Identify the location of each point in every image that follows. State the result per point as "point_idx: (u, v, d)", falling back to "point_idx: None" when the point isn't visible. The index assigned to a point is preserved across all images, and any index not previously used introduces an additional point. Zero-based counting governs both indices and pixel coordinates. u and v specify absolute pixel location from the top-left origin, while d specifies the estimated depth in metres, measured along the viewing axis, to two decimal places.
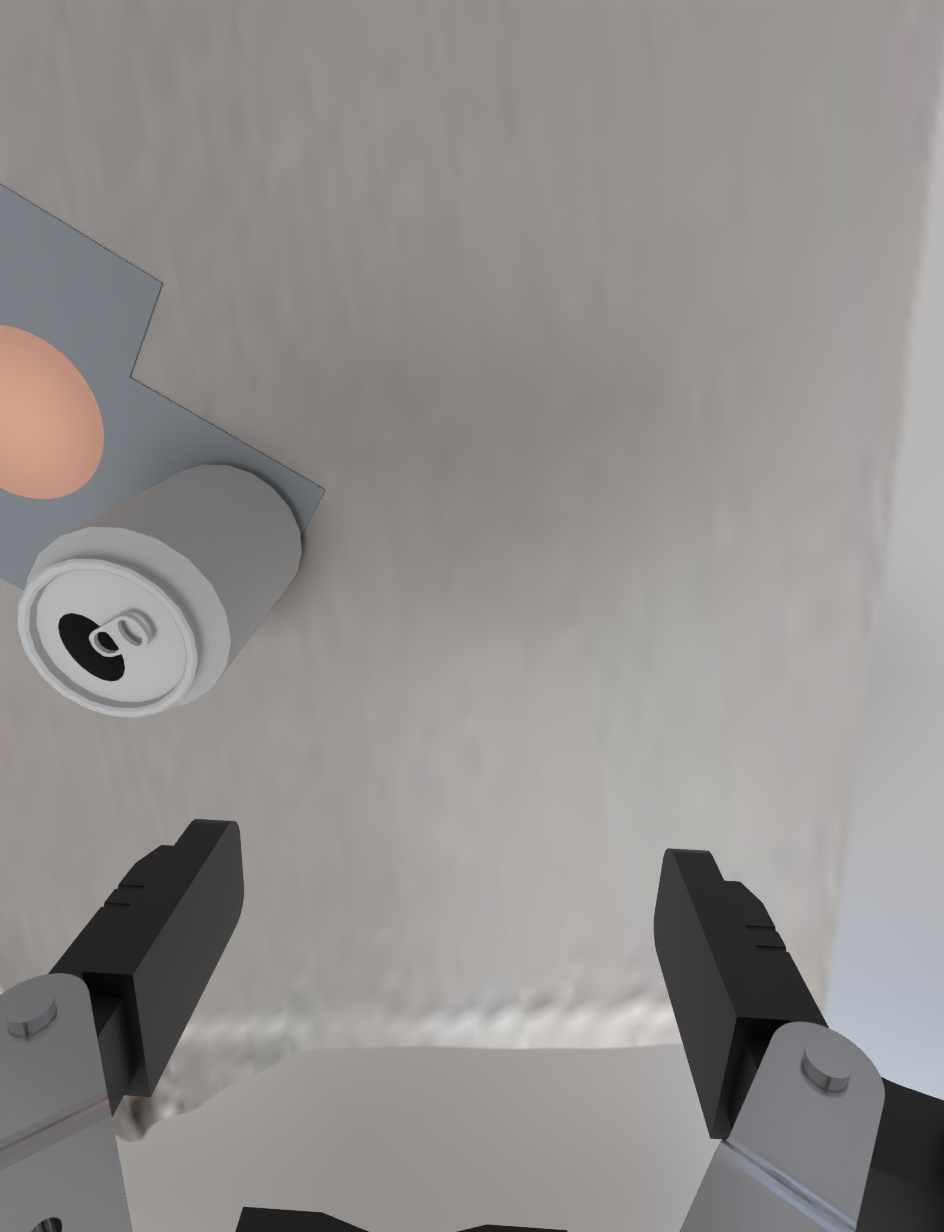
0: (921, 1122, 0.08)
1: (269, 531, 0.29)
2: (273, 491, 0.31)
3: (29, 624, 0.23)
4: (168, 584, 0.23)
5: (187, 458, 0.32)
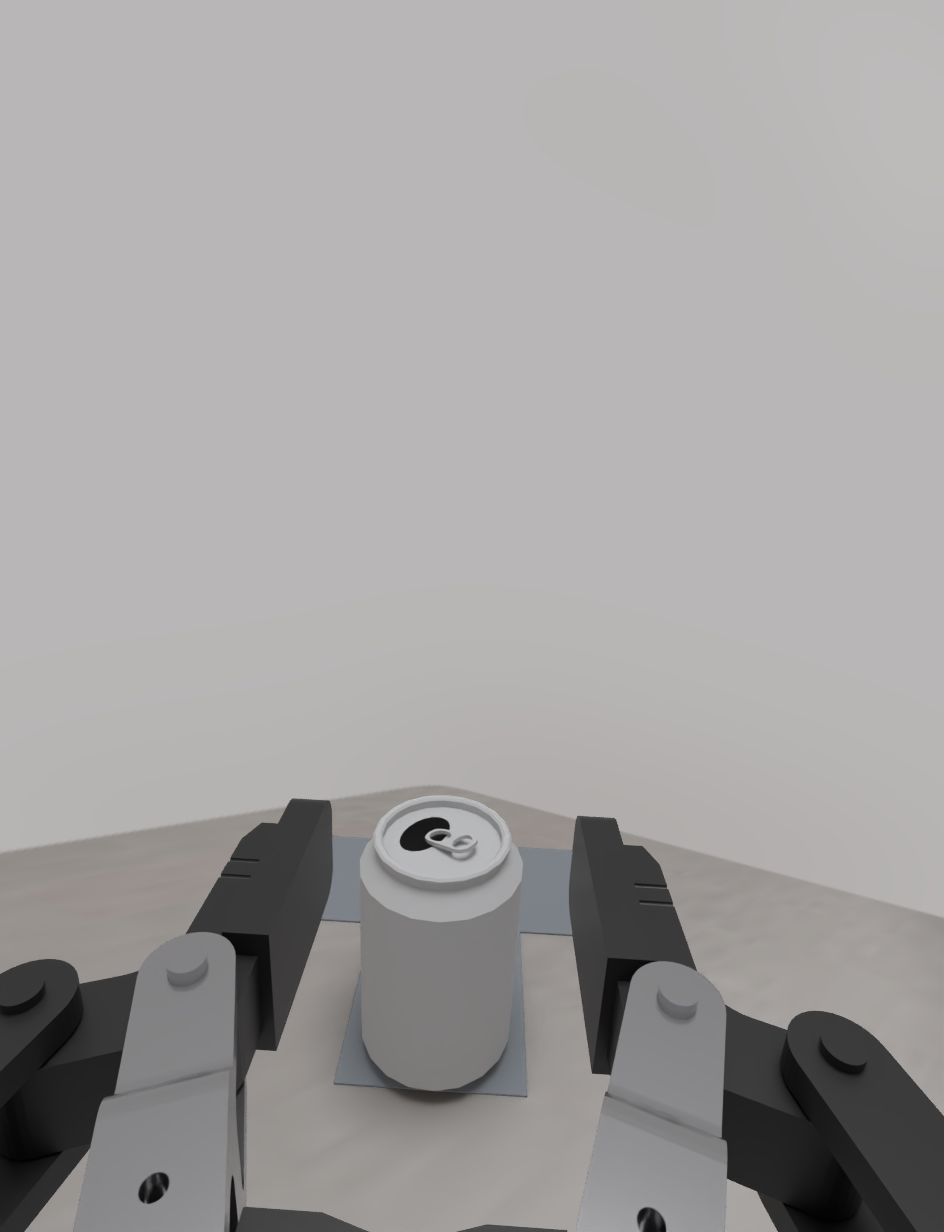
0: (762, 1048, 0.09)
1: (500, 1009, 0.30)
2: (508, 1037, 0.32)
3: (429, 802, 0.32)
4: (505, 863, 0.29)
5: None
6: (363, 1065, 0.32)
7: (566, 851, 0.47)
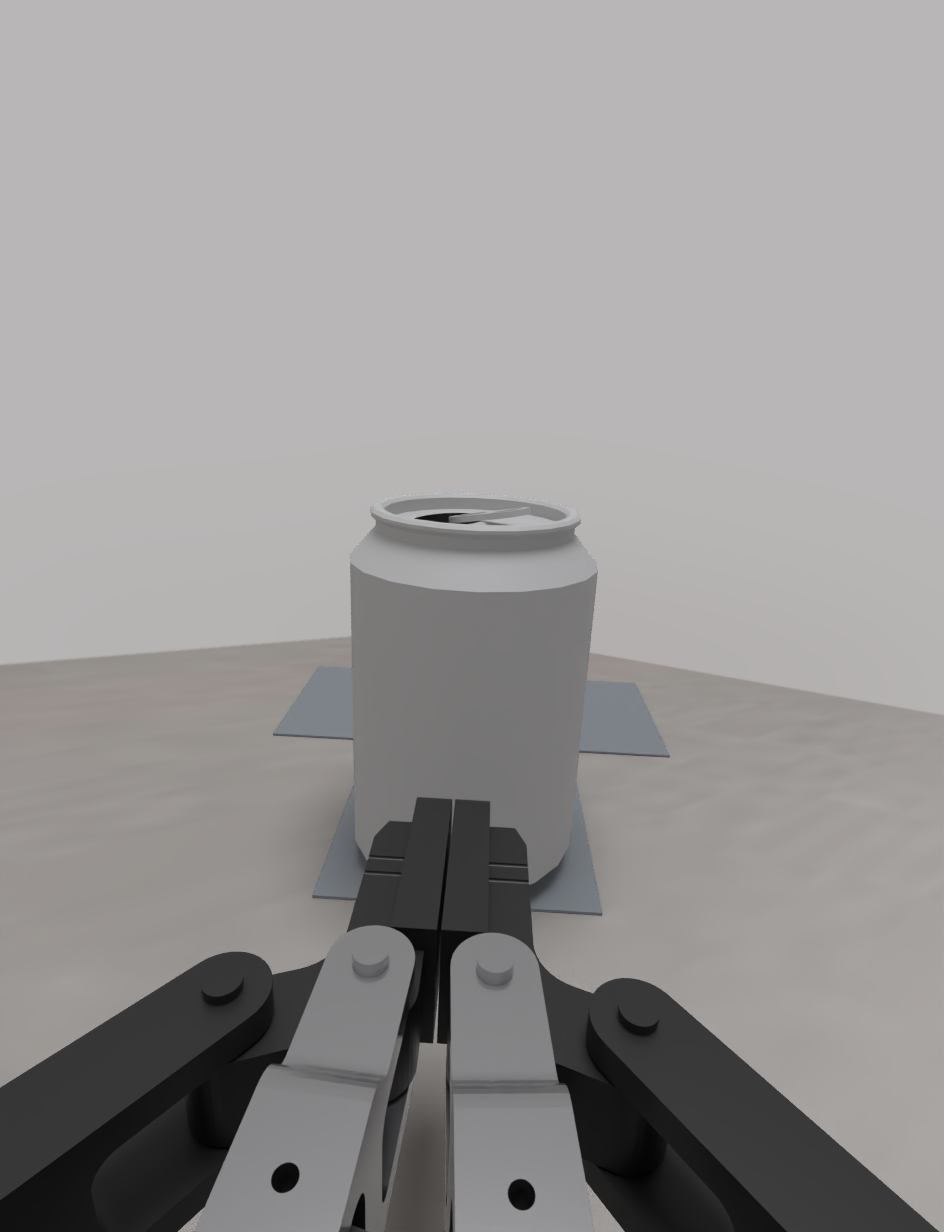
0: (575, 1014, 0.09)
1: (563, 778, 0.20)
2: (568, 840, 0.22)
3: (452, 499, 0.22)
4: (573, 541, 0.19)
5: None
6: (356, 877, 0.21)
7: (619, 683, 0.37)
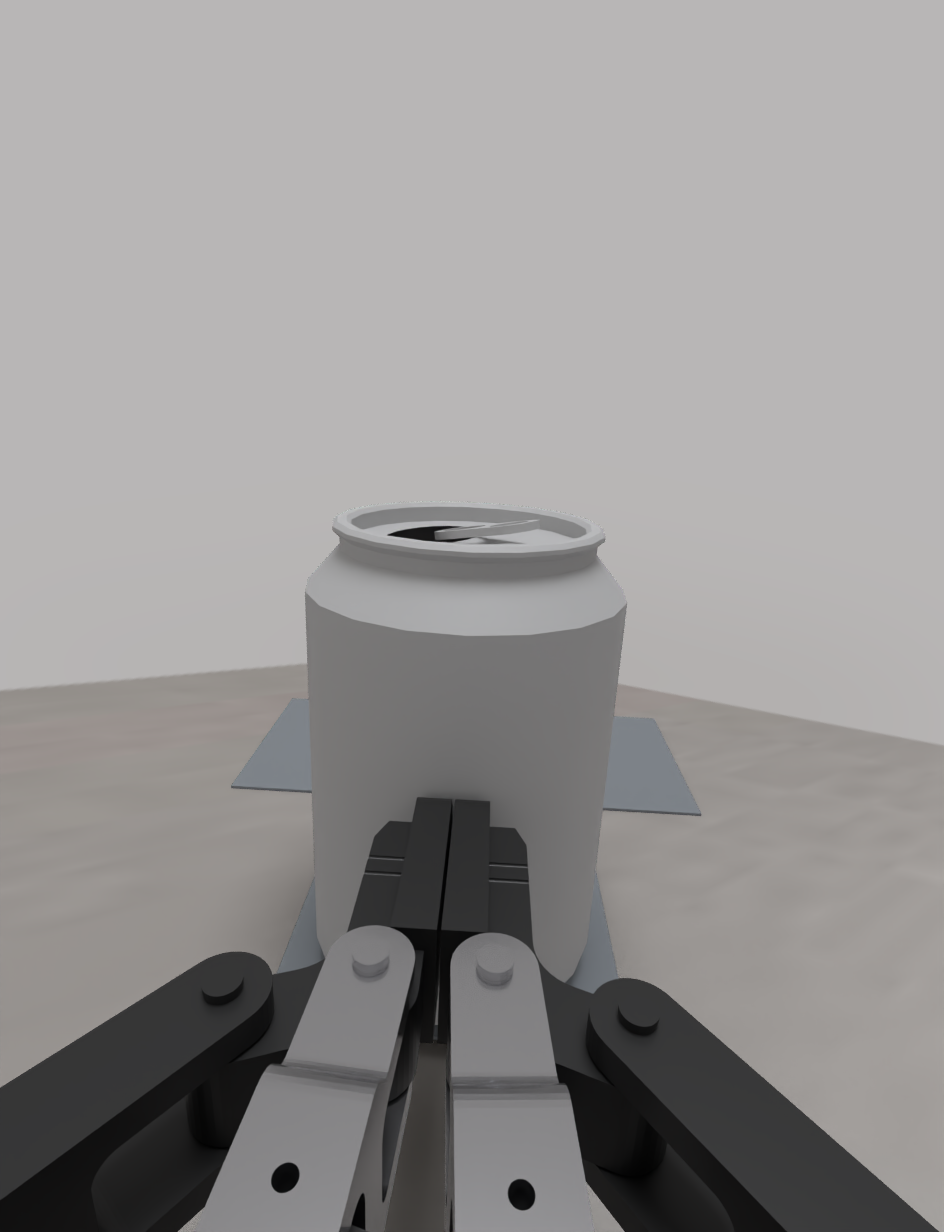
0: (575, 1013, 0.09)
1: (581, 869, 0.15)
2: (586, 938, 0.17)
3: (442, 509, 0.18)
4: (596, 565, 0.15)
5: None
6: None
7: (636, 718, 0.33)
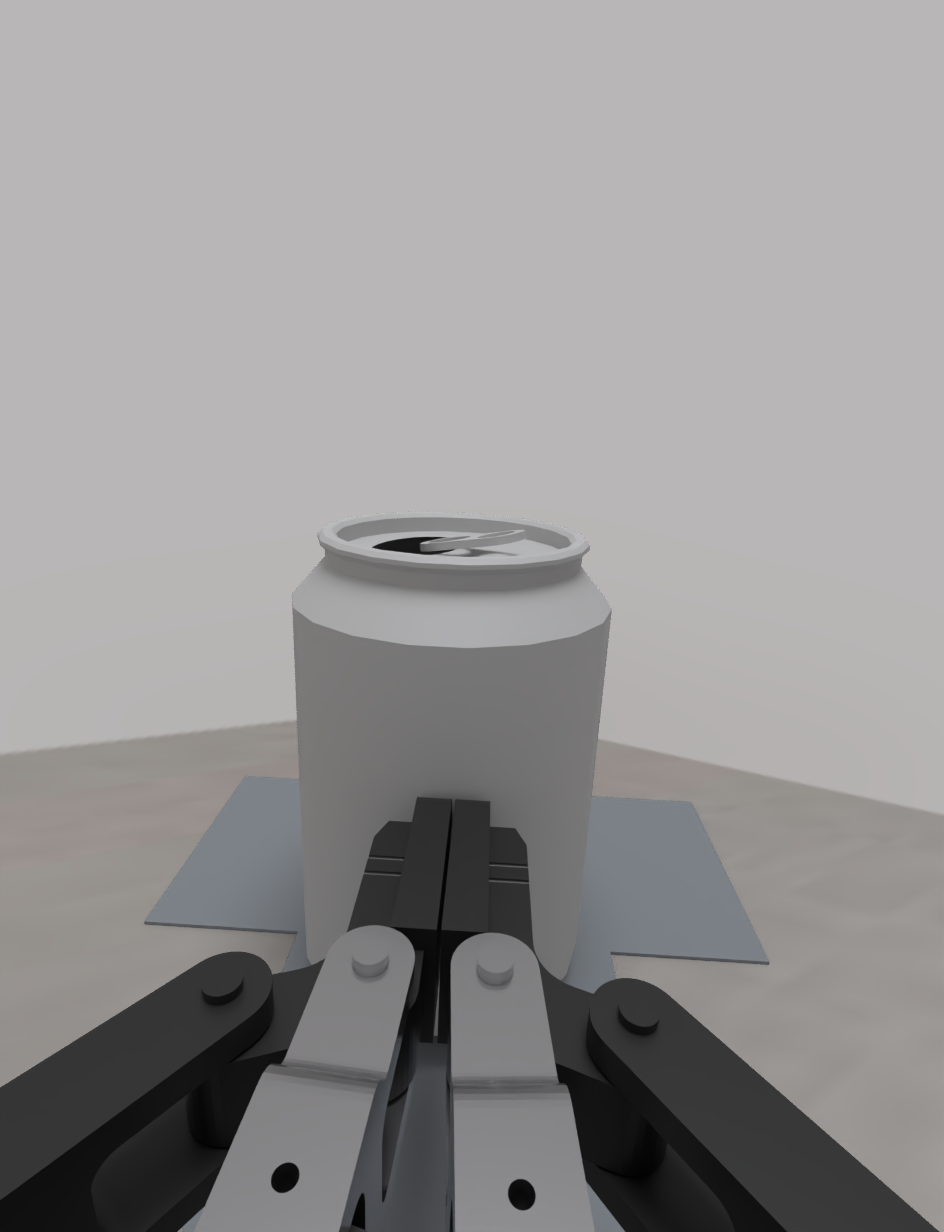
0: (575, 1013, 0.09)
1: (574, 870, 0.16)
2: (575, 937, 0.18)
3: (419, 519, 0.18)
4: (581, 573, 0.15)
5: None
6: None
7: (669, 802, 0.26)
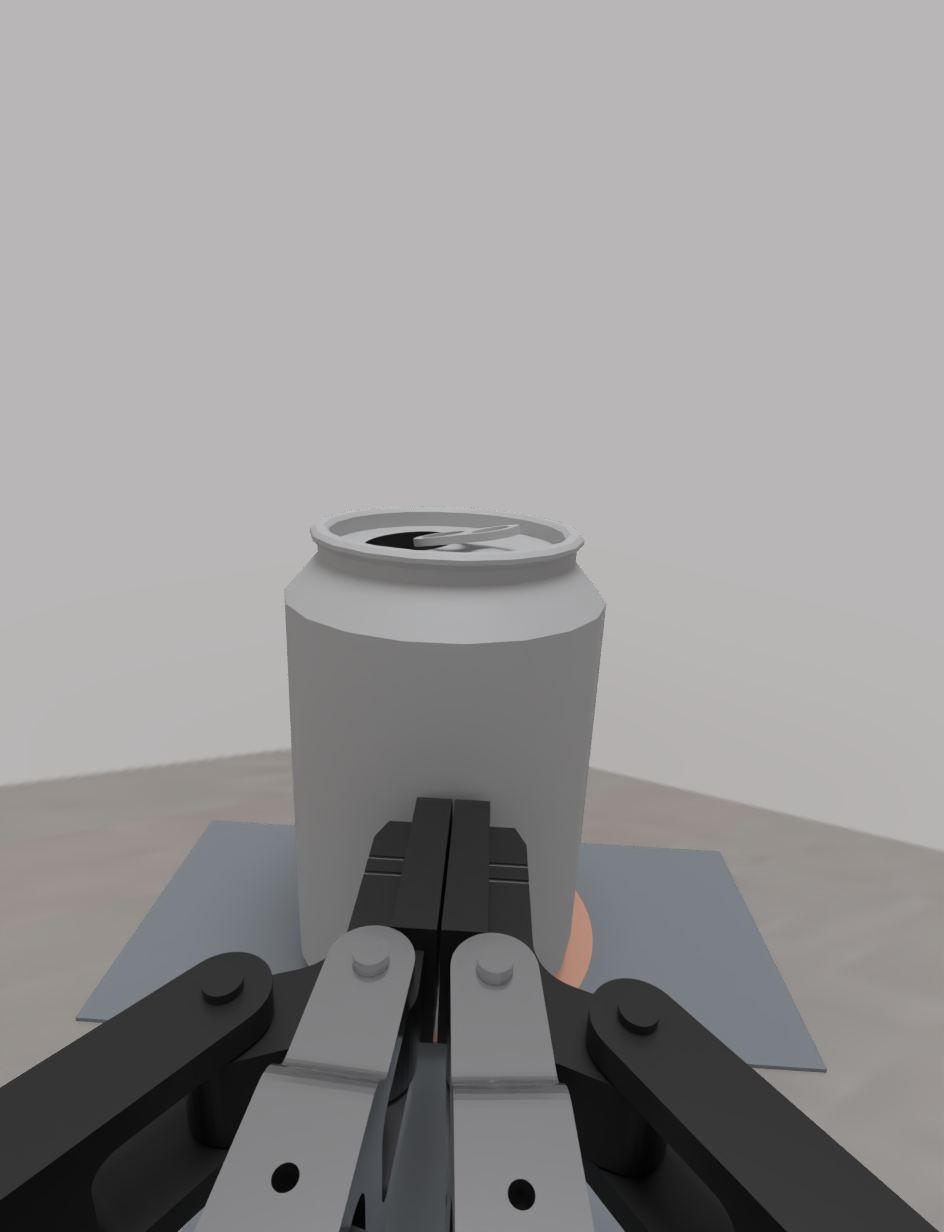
0: (575, 1014, 0.09)
1: (569, 864, 0.16)
2: (570, 930, 0.18)
3: (412, 514, 0.18)
4: (576, 568, 0.15)
5: None
6: None
7: (694, 852, 0.23)
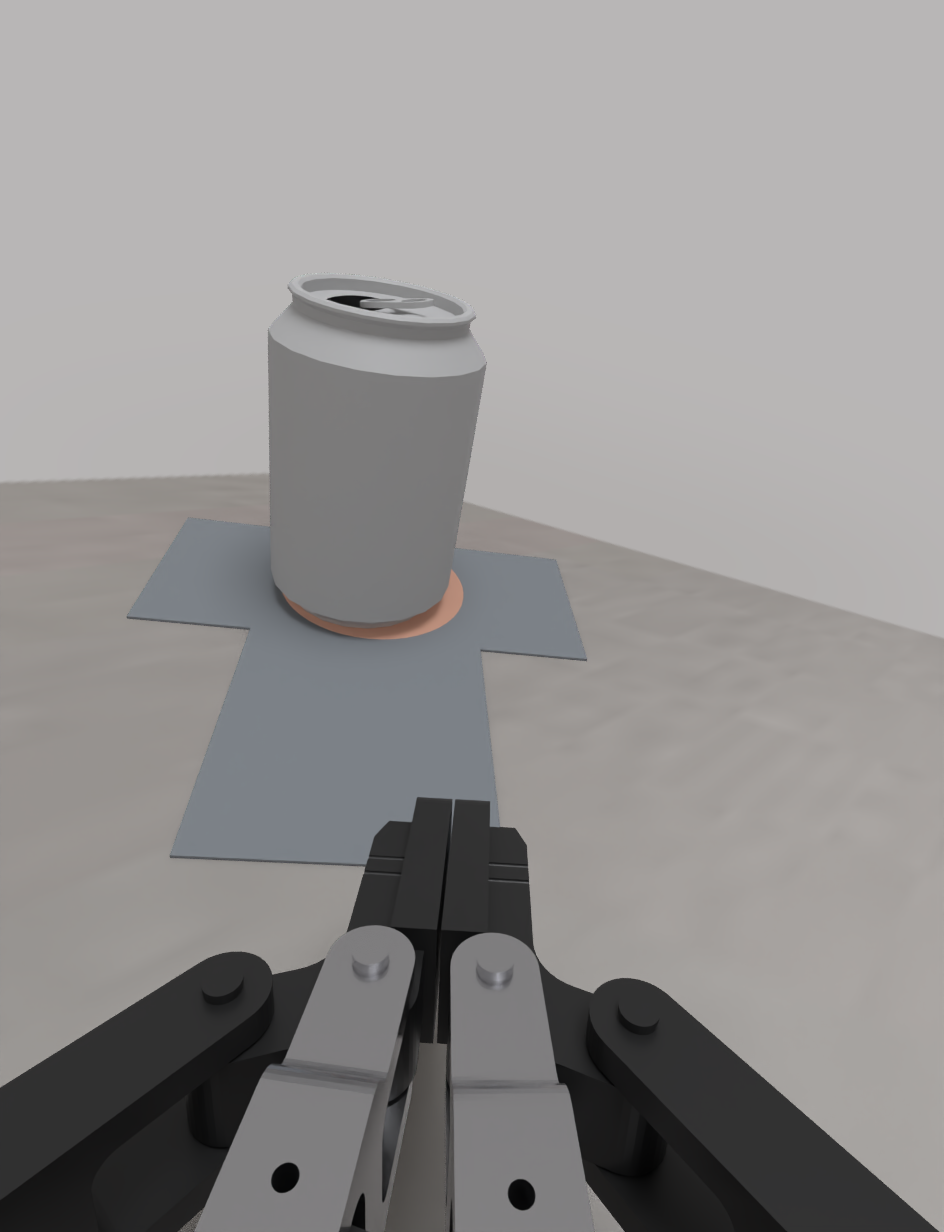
0: (575, 1014, 0.09)
1: (450, 533, 0.26)
2: (448, 583, 0.28)
3: (355, 281, 0.24)
4: (469, 335, 0.23)
5: (428, 707, 0.24)
6: (225, 828, 0.18)
7: (539, 559, 0.34)
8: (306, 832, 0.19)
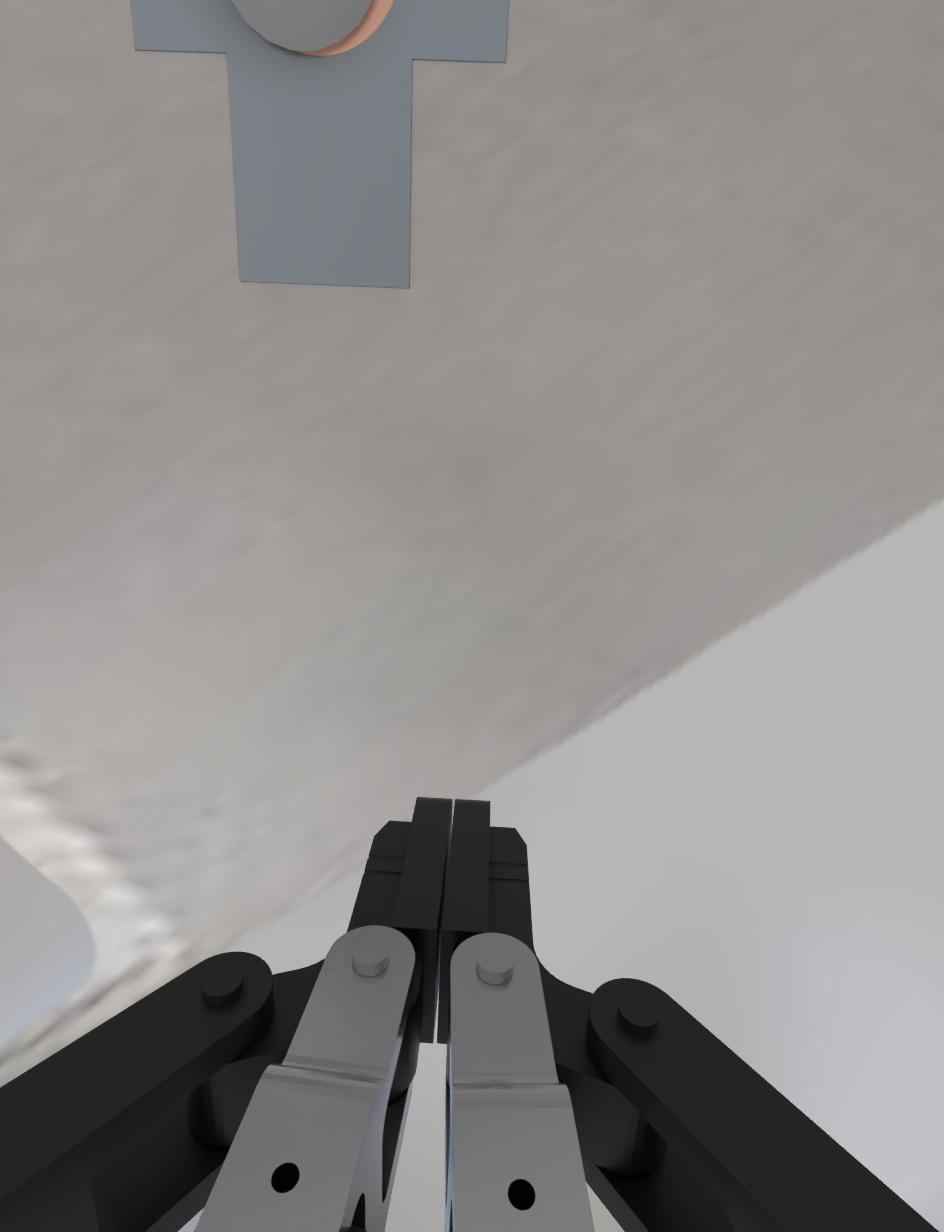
0: (575, 1013, 0.09)
1: None
2: None
3: None
4: None
5: (368, 145, 0.33)
6: (261, 262, 0.35)
7: None
8: (302, 264, 0.35)
